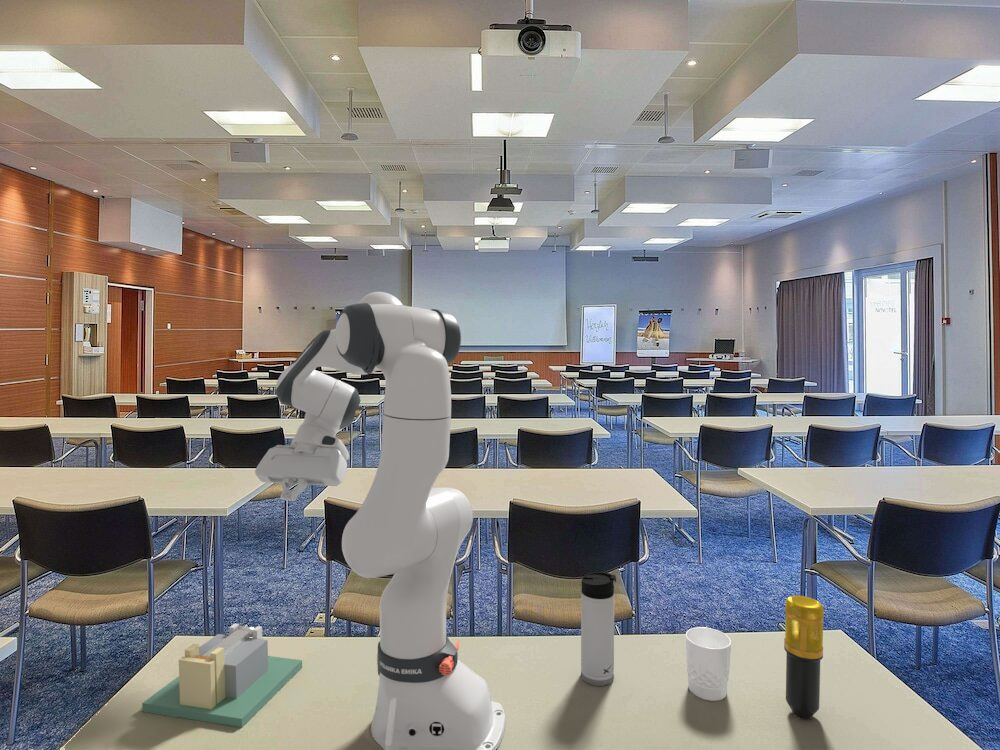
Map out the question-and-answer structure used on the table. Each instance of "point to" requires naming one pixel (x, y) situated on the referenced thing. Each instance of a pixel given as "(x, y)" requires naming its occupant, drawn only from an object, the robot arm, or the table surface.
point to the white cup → (708, 662)
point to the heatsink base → (224, 682)
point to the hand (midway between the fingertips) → (287, 499)
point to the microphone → (803, 654)
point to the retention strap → (230, 641)
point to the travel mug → (597, 628)
